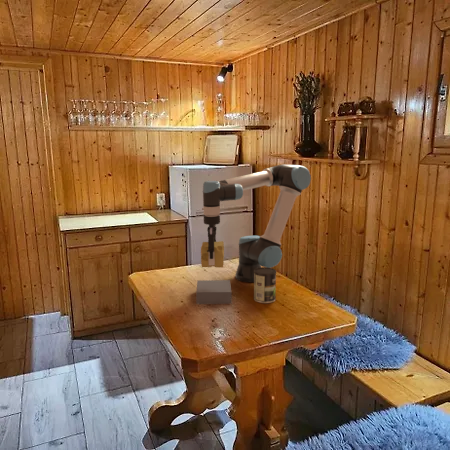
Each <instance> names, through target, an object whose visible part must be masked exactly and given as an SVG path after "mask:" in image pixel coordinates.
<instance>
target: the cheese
mask: <svg viewBox="0 0 450 450" xmlns="http://www.w3.org/2000/svg"><path fill="white" fill-rule="evenodd" d="M224 242H225V241H223V240H222V241H221V240H219V241H216V242H214V251H215V265H209V255H208V252H207V250H208V241H203V242H202V243H201V247H200V263H201V264H200V265H201V268H212V267H214V268H224V264H225V263H224V261H225V244H224Z"/></svg>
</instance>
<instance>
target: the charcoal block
mask: <svg viewBox="0 0 450 450" xmlns="http://www.w3.org/2000/svg"><path fill="white" fill-rule="evenodd" d="M195 292H196V293H195V295H196V298H195V299H196V305H217V304H220V305H221V304H225V305H226V304H228V305H229V304H232V287H231V280H230V279H216V280H215V279H211V280H210V279H209V280H208V279H206V280H203V279H202V280H201V279H200V280H197V281H196V291H195Z"/></svg>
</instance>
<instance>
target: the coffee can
mask: <svg viewBox="0 0 450 450" xmlns="http://www.w3.org/2000/svg"><path fill="white" fill-rule="evenodd" d="M276 283H277V270H276V269H275V268H274V267H272V268H267V267H263V266H261V268H256V269H255V270H254V282H253V300H254V301H255V302H257V303H260V304H271V303H274V302H275V301H276V293H277V292H276V290H277V289H276V287H277V284H276Z"/></svg>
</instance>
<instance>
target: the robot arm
mask: <svg viewBox="0 0 450 450" xmlns="http://www.w3.org/2000/svg"><path fill="white" fill-rule="evenodd" d="M311 176H312V175H311V174H310V170H309V169H308V168H307V167H306V166H304V165H299V164H284V163H283V164H278V165H274V166H270V167H267V168H264V169H263V170H261V171H257V172H253V173H249V174H244V175H239V176H236V177H231V178H227V179H223V180H207V181H206V180H205V181H204V182H203V185H202V201H203V206H202V208H201V209H202V211H203V215H204V216H203V224H204V225H208V227H207V230H206V231H207V237H208V239H207V240H208V241H207V242H208V250H207V252H208V255H209V265H215V251H214V242H217V226H216V225H219V224H220V223H221V216H220V214H221V202H227V201H228V202H229V201H236V200H237V201H238V200H241V199H242V198H243V195H244V191H248V190H252V189H256V188H260V187H264V186H265V187H273V186H274V187H275V186H276V187H278V188H279V190H280V192H279V195H278V198H277V200H276V201H275V204H274V207H273V209H272V213H271V215H270V217H269V221H268V223H267V226H266V229H265V230H264V233H263V234H262V235H245V236H241V237H240V238H239V239H238V266H237V269H236V271H235V279H236V280H238V281H240V282H242V283H254V270H255V269H256V268H262V267H267V268H274V267H276V266H278V265H279V263H280V262H281V260H282V258H283V253H282V252H283V251H282V249H281V247H282V243H281V239H282V236H283V233H284V231H285V228H286V225H287V223H288V221H289V217H290V216H291V212H292V210H293V208H294V205H295V201H296V200H297V197H299V196H301V194H302V192H303V191H304V190H305V189H307V188H308V187H309V186H310V184H311V180H312V178H311Z"/></svg>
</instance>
